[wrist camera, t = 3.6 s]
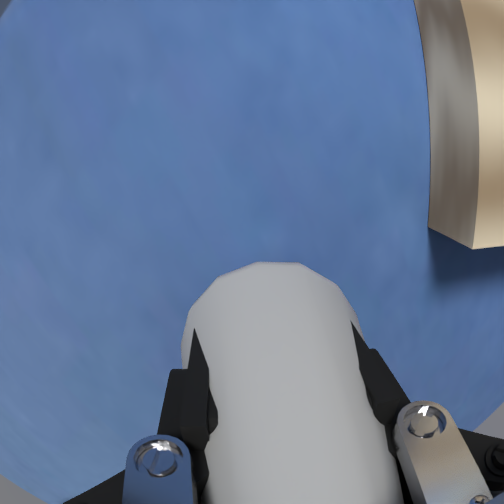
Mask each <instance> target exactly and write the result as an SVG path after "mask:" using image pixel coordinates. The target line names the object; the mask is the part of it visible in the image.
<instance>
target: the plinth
mask: <svg viewBox="0 0 504 504" xmlns="http://www.w3.org/2000/svg"><path fill="white" fill-rule="evenodd" d="M414 3H415V7H416V12H417V17H418V22H419V28H420V34H421V40H422V46H423V53H424V60H425V69H426V78H427V88H428V100H429V115H430V142H431V175H430V203H429V219H428V227H429V228H431V229H433V230H435V231H438V232H440V233H442V234H444V235H446V236H448V237H450V238H451V239H453V240H455V241H457V242H459V243H461V244H463V245H465V246H467V247H469V248H471V249H480V248H489V247H497V246H504V0H414Z"/></svg>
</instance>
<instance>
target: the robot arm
mask: <svg viewBox="0 0 504 504" xmlns="http://www.w3.org/2000/svg"><path fill="white" fill-rule="evenodd" d="M350 321H351V320H350ZM351 325H352V330H353V335H354V340H355V345H356V350H357V356H358V361H359V370H360V373H361V376H362V378H363V381H364V384H365V389H366V395H367V399H368V402H369V404H370V406H371V408H372V410H373V414H374V416H375V418H376V419H377V420H378V421H379V423H381V424H383V425H384V428H385V433H386V439H387V445H388V451H389V452H390V453H391V454H392V456H393V457H394V458H395V460H396V465H397V469H398V474H399V479H400V484H401V490H402V495H403V500H404V504H504V439H500V438H495V437H491V436H487V435H483V434H479V433H475V432H471V431H467V430H463V429H460V428H457V426H456V424H455V422H454V421H453V419H452V417H451V415H450V414H449V412H448V411H447V410H446V409H445V408H444V407H442V406H441V405H439V404H437V403H434V402H431V401H415V402H412V403H411V402H410V400H409V399H408V397H407V396H406V394H405V393H404V391H403V389H402V388H401V386H400V385H399V383H398V382H397V380H396V379H395V377H394V375H393V374H392V372H391V371H390V369H389V368H388V366H387V365H386V363H385V362H384V360H383V359H382V357H381V356H380V354H379V353H378V351H377V350H376V349H369V348H368V346H367V345H366V343H365V342H364V340H363V339H362V337H361V335H360V334H359V332H358V331H357V329H356V328H355V326H354V325H353V323H352V322H351ZM217 425H218V410H217V407H216V405H215V402H214V399H213V396H212V393H211V391H210V388H209V367H208V364H207V362H206V359H205V356H204V353H203V351H202V348H201V345H200V342H199V339H198V336H197V333H196V331H195V328H194V331H193V337H192V343H191V349H190V356H189V362H188V368H187V369H172V370H171V371H170V374H169V379H168V383H167V388H166V393H165V398H164V402H163V407H162V412H161V417H160V422H159V427H158V433H157V435H153V436H148V437H146V438H143V439H141V440H139V441H138V442H137V443H135V444H134V445H133V446H132V448H131V449H130V450H129V453H128V456H127V460H126V468H125V470H123V471H121V472H120V473H118V474H116V475H115V476H113V477H111V478H109V479H108V480H106V481H104V482H102V483H100V484H99V485H97V486H95V487H93V488H91V489H89V490H88V491H86V492H84V493H82V494H80V495H78V496H76V497H74V498H72V499H70V500H68V501H66V502H65V503H63V504H202V503H201V494H202V492H203V490H204V488H205V486H206V483H207V481H208V477H209V469H208V464H207V460H206V456H205V451H204V450H205V448H206V445H207V442H209V435H210V434H211V433H212V432H214V430H215V429H216V427H217Z"/></svg>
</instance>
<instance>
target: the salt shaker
mask: <svg viewBox="0 0 504 504" xmlns="http://www.w3.org/2000/svg"><path fill="white" fill-rule="evenodd" d="M350 320H351V321H350ZM351 322H352V323H353V325H354V326H355V328H356V329H357V331H358V332H359V334H360V335H361V337H362V339H363V340H364V338H363V334H362V331H361V328H360V325H359V321H358V318H357V315H356V313H355V311H354V310H353V308H352V307H351V305H350V304H349V302H348V301H347V299H346V298H345V296H344V294H343V293H342V291H341V290H340V288H339V287H338V285H336V284H335V283H333V282H332V281H330V280H328V279H327V278H325V277H323V276H321V275H320V274H318V273H316V272H314V271H313V270H311V269H309V268H307V267H306V266H304V265H302V264H300V263H298V262H255V263H252V264H250V265H247V266H244V267H242V268H239V269H237V270H234V271H231V272H229V273H226V274H224V275H221V276H218V277H217V278H216V280H215V281H214V282H213V283H212V284H211V285H210V286H209V287H208V288H207V289H206V291H205V292H204V293H203V294H202V295H201V296H200V297H199V298H198V300H197V301H196V302H195V303H194V304H193V305H192V307H191V309H190V311H189V313H188V317H187V321H186V325H185V329H184V333H183V338H182V342H181V355H182V366H183V369H187V368H188V362H189V356H190V349H191V343H192V337H193V331H194V328H195V331H196V333H197V336H198V339H199V342H200V345H201V348H202V351H203V353H204V356H205V359H206V362H207V364H208V367H209V388H210V391H211V393H212V396H213V399H214V402H215V405H216V407H217V410H218V425H217V427H216V429H215V430H214V432H212V433H211V434H210V435H209V442H207V445H206V448H205V450H204V451H205V456H206V460H207V464H208V469H209V477H208V481H207V483H206V486H205V488H204V490H203V492H202V494H201V503H202V504H404V500H403V495H402V490H401V484H400V479H399V474H398V469H397V465H396V460H395V458H394V457H393V456H392V454H391V453H390V452H389V451H388V445H387V439H386V433H385V428H384V425H383V424H381V423H379V421H378V420H377V419H376V418H375V416H374V414H373V410H372V408H371V406H370V404H369V402H368V399H367V395H366V389H365V384H364V381H363V378H362V376H361V373H360V370H359V361H358V356H357V350H356V345H355V340H354V335H353V330H352V325H351ZM364 342H365V341H364Z"/></svg>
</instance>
